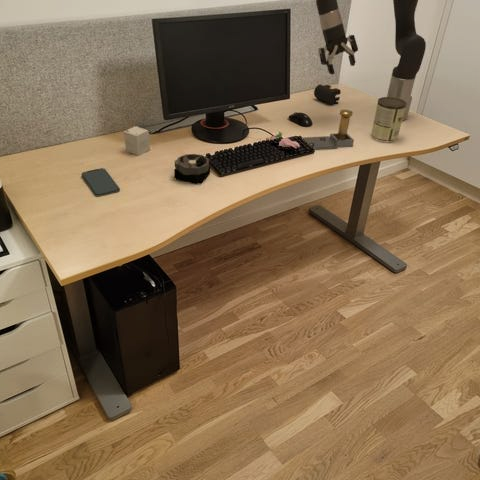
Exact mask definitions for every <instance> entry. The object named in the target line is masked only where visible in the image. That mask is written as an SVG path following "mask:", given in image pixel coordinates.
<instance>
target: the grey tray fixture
mask: <svg viewBox="0 0 480 480" xmlns="http://www.w3.org/2000/svg"><path fill="white" fill-rule="evenodd" d="M337 136H338V132H337V133H335V132H334V133H330V134H329V135H327V136H326V135H325V136H324V135H323V136H307V137H306V136H305V137H302V138H303V139H304V140H305V141H306V142H307V143H308V144H310V145H311V146H312V147H313V149H314V150H313V151H320V150H335V149H338V148H345V147H347V148H348V147H353V146H354V143H355V142H354V141H355V140H354V138H353V137H352V136H351V135H349V134H348V133H347V136H346V139H345V140H338V139H337Z"/></svg>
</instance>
